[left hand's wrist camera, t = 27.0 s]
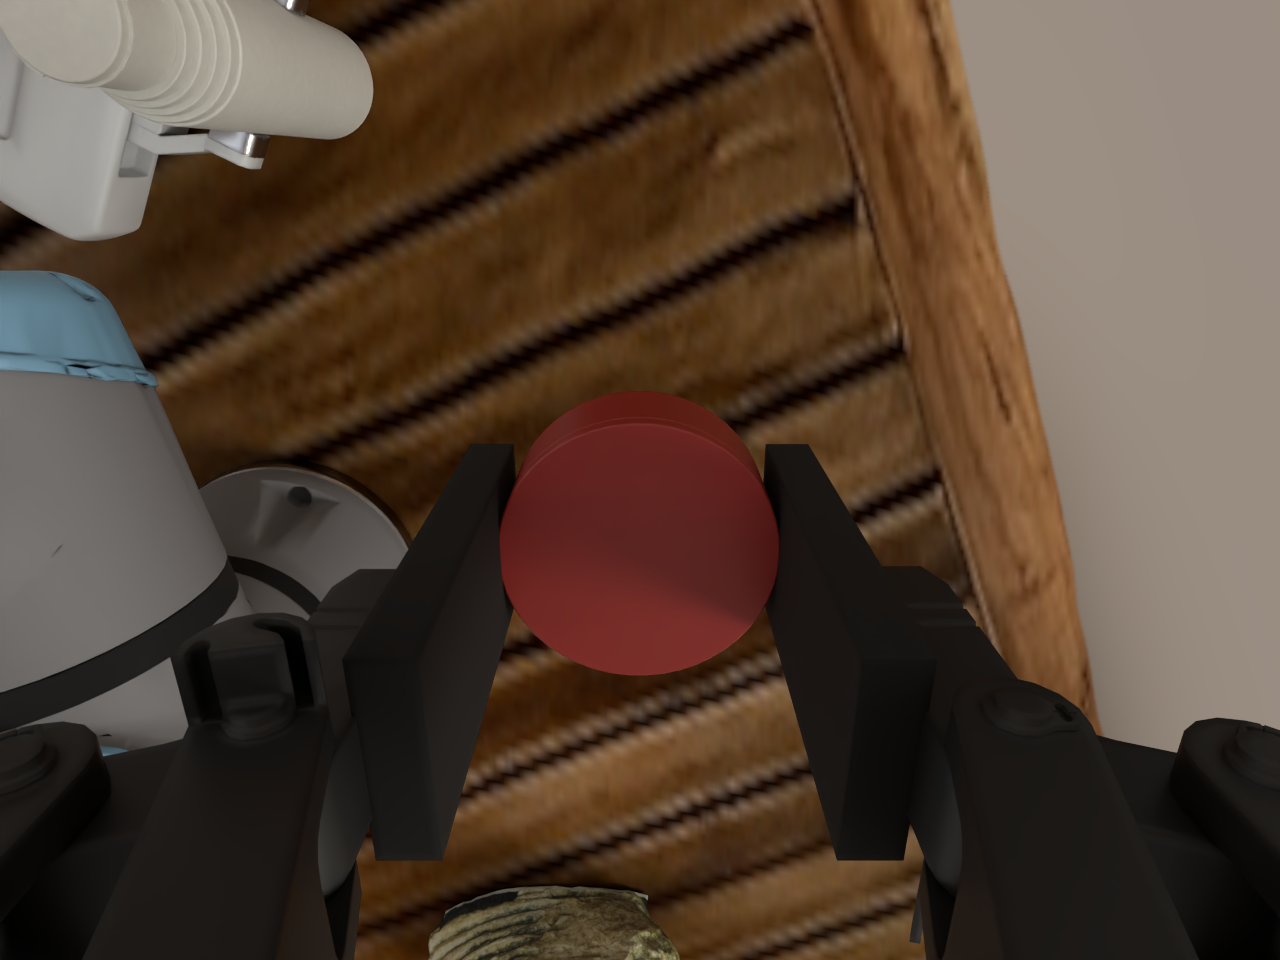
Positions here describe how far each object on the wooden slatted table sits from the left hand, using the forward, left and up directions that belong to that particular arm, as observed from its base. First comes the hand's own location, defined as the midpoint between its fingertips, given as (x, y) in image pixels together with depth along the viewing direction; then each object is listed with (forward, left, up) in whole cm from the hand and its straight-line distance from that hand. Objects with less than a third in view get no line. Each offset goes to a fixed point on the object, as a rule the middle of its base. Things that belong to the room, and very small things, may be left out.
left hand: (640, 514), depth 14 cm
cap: (0, 0, +2) cm, 2 cm away
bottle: (-9, +16, -30) cm, 35 cm away
